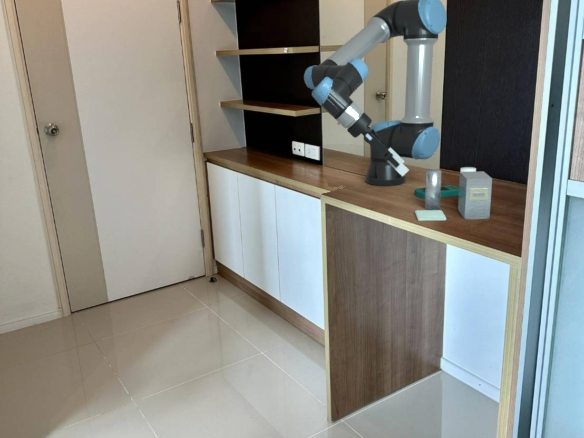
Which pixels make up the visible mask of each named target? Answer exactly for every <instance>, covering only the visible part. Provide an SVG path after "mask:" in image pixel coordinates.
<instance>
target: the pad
mask: <svg viewBox="0 0 584 438" xmlns="http://www.w3.org/2000/svg"><path fill="white" fill-rule="evenodd" d="M414 214H415V217H416V219H417V221H419V222H420V221H422V222H423V221H425V222H426V221H447V217H446V215H445V214H444V212H443V211H442V210H441V209H439V210H426V209H424V210H423V209H422V210H417V209H416V210H414Z"/></svg>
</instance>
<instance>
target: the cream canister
mask: <svg viewBox="0 0 584 438" xmlns="http://www.w3.org/2000/svg"><path fill="white" fill-rule="evenodd" d="M460 172H477V168H476V167H474V166H472V167H471V166H463V167H460ZM460 172H459V173H460Z"/></svg>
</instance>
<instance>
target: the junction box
mask: <svg viewBox="0 0 584 438" xmlns="http://www.w3.org/2000/svg"><path fill="white" fill-rule="evenodd" d="M458 183H459V185H458V188H459V196H458V204H457V205H458V206H457V211H458V212H459V213H460V215H461V216H462V217H463V218H464V220H490V216H491V214H490V213H491V202H492V201H491V199H492V185H493V178H492V177H491V176H490V175H489V174H488V173H486V172H485V171H481V170H480V171H476V172H459V182H458Z"/></svg>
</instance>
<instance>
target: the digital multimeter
mask: <svg viewBox="0 0 584 438" xmlns="http://www.w3.org/2000/svg"><path fill="white" fill-rule="evenodd" d="M425 188H426V187H418V188H415V189H414V196H415V197H417V198H419V199H422V200H425ZM450 197H459V187H457V186H455V185H452V184H450V185H441V194H440V199H441V198H450Z"/></svg>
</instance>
